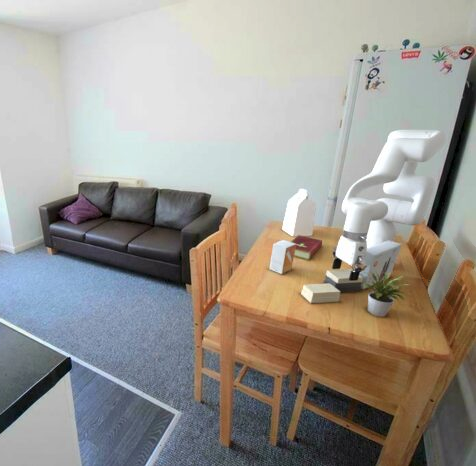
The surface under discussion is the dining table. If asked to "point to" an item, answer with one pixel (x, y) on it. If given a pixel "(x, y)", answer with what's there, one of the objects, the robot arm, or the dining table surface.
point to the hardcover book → (306, 246)
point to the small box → (282, 256)
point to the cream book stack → (320, 293)
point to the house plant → (382, 295)
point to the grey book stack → (344, 285)
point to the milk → (300, 215)
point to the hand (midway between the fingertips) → (344, 274)
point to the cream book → (342, 276)
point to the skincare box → (379, 261)
